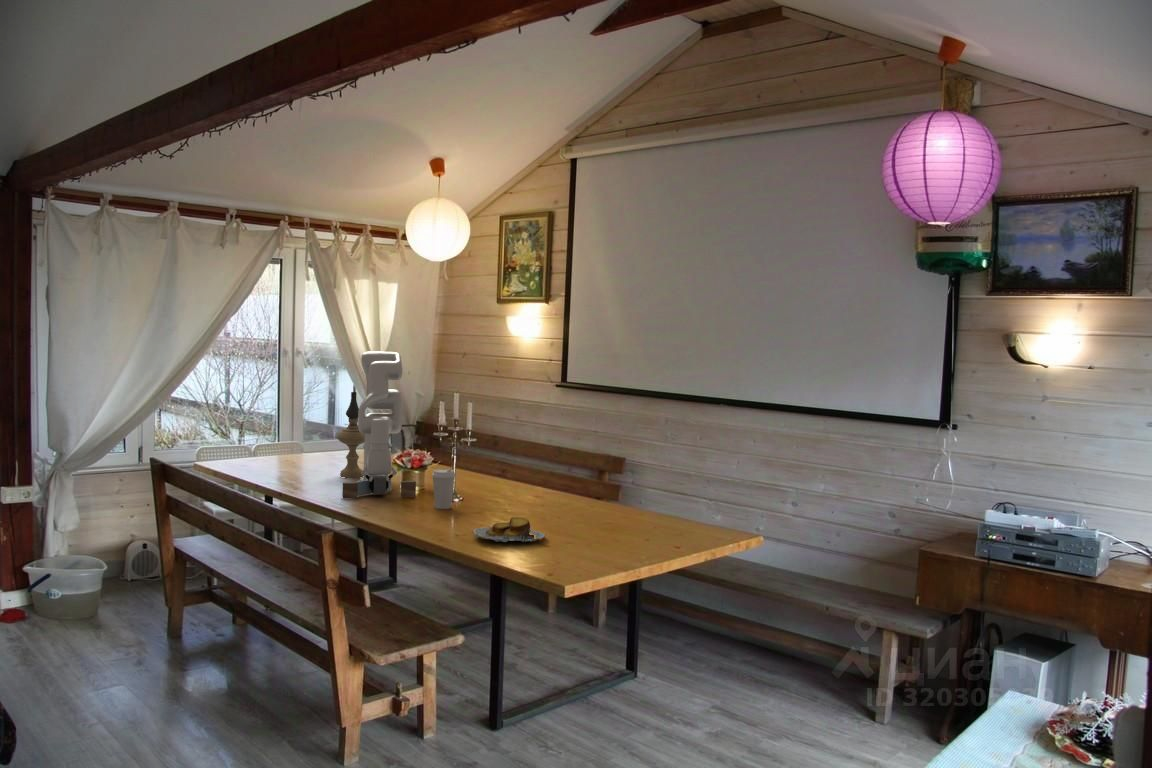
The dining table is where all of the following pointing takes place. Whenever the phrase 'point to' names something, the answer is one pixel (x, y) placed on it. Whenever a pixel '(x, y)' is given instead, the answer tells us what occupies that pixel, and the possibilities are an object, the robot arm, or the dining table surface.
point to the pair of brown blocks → (352, 489)
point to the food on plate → (510, 531)
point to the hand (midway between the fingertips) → (378, 489)
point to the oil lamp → (351, 440)
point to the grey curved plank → (364, 487)
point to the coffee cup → (443, 487)
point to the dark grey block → (379, 485)
